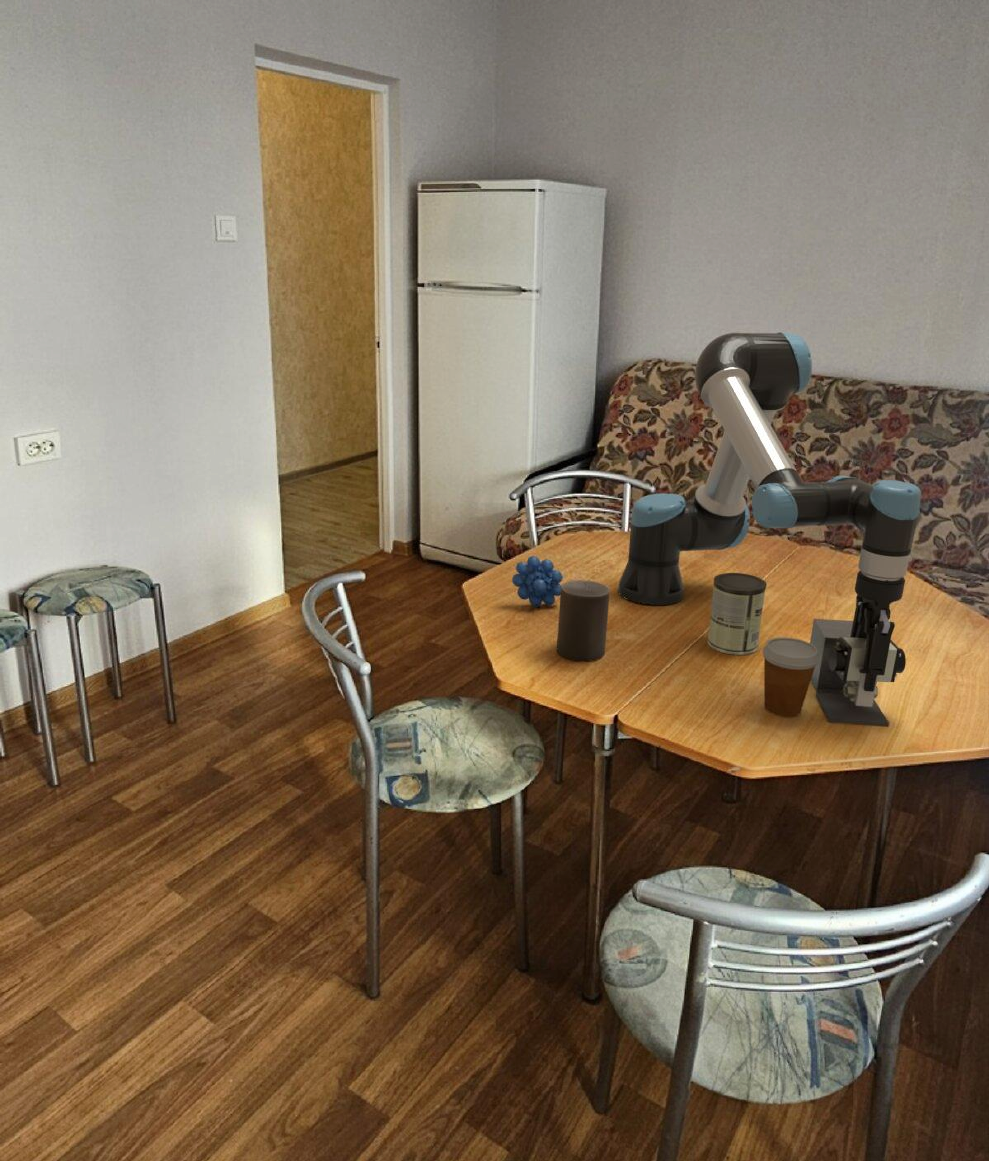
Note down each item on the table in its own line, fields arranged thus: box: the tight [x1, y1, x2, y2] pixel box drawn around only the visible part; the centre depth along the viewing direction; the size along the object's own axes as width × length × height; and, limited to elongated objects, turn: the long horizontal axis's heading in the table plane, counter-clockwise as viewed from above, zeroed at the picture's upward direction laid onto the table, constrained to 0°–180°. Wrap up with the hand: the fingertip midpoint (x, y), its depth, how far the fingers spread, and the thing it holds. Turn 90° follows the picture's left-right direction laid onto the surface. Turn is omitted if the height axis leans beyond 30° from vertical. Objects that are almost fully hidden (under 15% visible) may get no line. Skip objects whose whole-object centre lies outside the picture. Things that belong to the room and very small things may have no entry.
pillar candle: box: [556, 579, 611, 662], centre depth 179 cm, size 10×10×15 cm
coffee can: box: [706, 572, 767, 656], centre depth 184 cm, size 10×10×14 cm
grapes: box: [511, 555, 564, 607], centre depth 201 cm, size 12×7×12 cm, turn 96°
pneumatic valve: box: [828, 637, 907, 703], centre depth 158 cm, size 6×12×12 cm, turn 89°
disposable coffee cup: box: [762, 637, 820, 718], centre depth 159 cm, size 10×10×12 cm
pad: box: [815, 692, 890, 727], centre depth 161 cm, size 10×10×1 cm
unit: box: [809, 618, 853, 694], centre depth 169 cm, size 9×10×11 cm
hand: (858, 697), depth 160 cm, fingers closed on pneumatic valve, 5 cm apart
